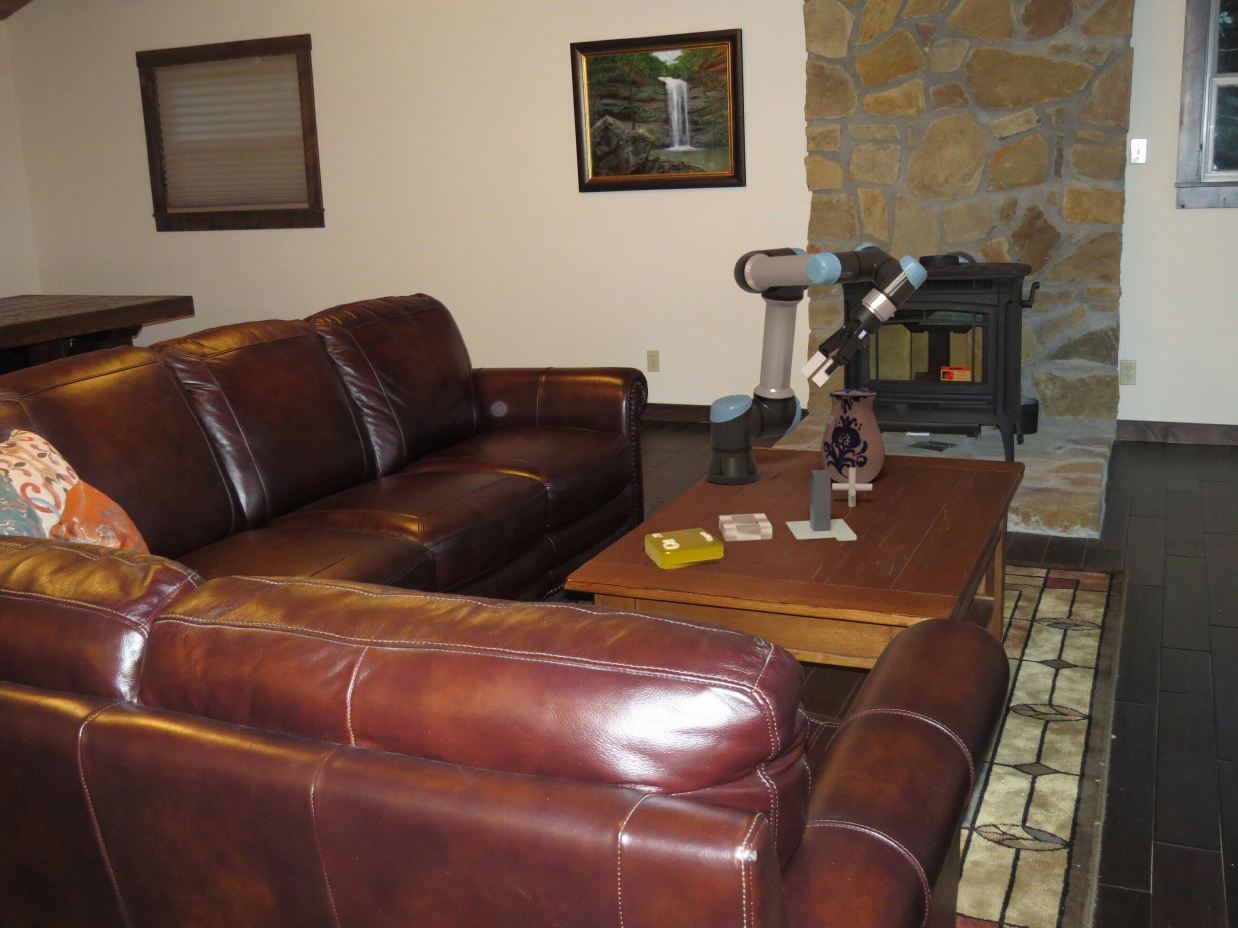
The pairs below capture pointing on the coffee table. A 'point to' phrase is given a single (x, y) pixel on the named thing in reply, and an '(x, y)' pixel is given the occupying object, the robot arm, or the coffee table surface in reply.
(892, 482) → the coffee table surface
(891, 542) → the coffee table surface
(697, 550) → the element tile
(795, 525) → the plate
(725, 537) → the socket block
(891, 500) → the coffee table surface
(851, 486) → the pipe connector
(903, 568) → the coffee table surface
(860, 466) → the ceramic pitcher
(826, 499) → the peg
